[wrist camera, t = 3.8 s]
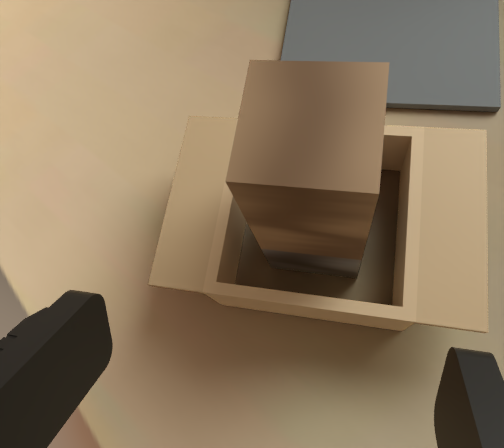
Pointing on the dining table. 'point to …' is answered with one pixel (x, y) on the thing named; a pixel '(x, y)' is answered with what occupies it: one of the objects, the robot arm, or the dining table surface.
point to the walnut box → (310, 160)
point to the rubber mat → (407, 47)
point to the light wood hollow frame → (407, 237)
